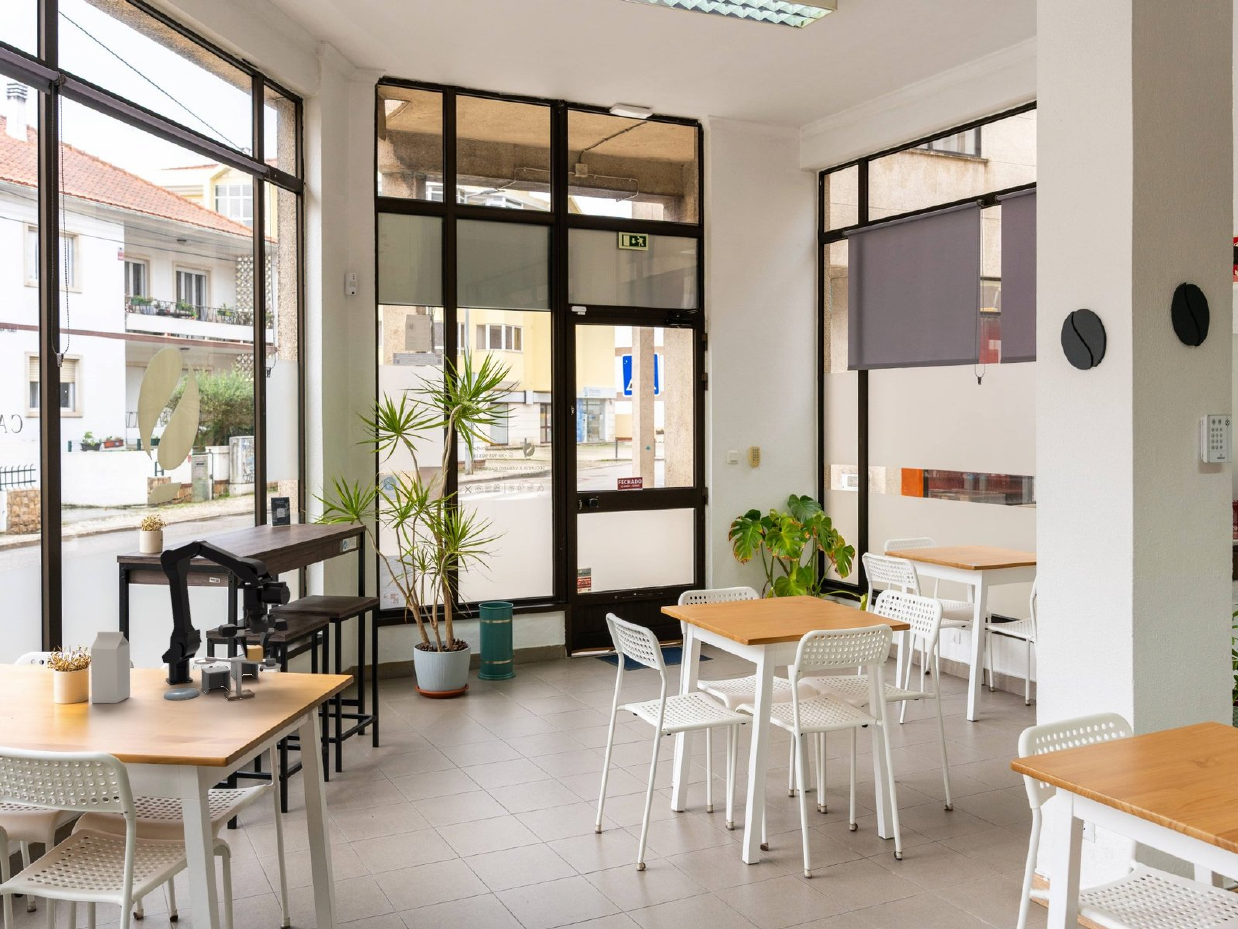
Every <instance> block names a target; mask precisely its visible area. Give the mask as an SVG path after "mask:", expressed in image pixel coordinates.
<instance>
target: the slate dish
mask: <svg viewBox="0 0 1238 929" xmlns="http://www.w3.org/2000/svg"><path fill="white" fill-rule="evenodd" d="M197 695H198V696H199V695H200V690H199V689H198V688H194V687H192V688H191V687H184V688H183V687H182V688H181V687H180V688H175V689H170V690H167V691H165V692H164V693H163V698H164V699H165V700H168V699H169V701H179V700H178V699H180V701H183V700H187V699H186V698H189V699H193V698H196V697H198V696H197ZM195 696H196V697H195ZM182 699H183V700H182Z"/></svg>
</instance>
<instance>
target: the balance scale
mask: <svg viewBox="0 0 1238 929" xmlns="http://www.w3.org/2000/svg"><path fill="white" fill-rule="evenodd" d="M276 661H277V659H276V658H275V657H270V658H266V659H265V661H264V660H263V661H251V660H238V659H231V658H223V657H213V656H212V657H211V656H205V657H204V658H198V659H196V660H194V665H210V664H215V663H217V662H225V663H231V662H234V663H236V681H235V690H233V691H232V690H231V691H224V692H222V695H223V696H222V697H223V698H224V699H226V698H227V699H228V700H227V699H226V700H227V701H228V702H229V701H230V700H231V701H236V700H235V699H238V700H241V699H240V698H245V699H250V698H256V697H255V696H256V695H255V692H253V691H252V690H251V689H250V688H245V689H242V682H243V680H242V678H243V676H242V672H241V663H247V664H258V665H260V666H259V667H260V669H261V670H277V669H280V668H281V666H282V664H281V663H277V662H276ZM231 701H230V702H231Z"/></svg>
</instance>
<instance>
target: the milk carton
mask: <svg viewBox="0 0 1238 929" xmlns="http://www.w3.org/2000/svg"><path fill="white" fill-rule="evenodd" d="M96 632H97V635H96V638H95V640H94V642H93V644H92V645H91V648H90V669H91V670H90V672H91V673H90V674H91V676H90V677H91V678H90V680H91V684H90V685H91V686H90V687H91V688H90V689H91V690H90V691H91V703H92V704H118V703H120V702H122V701H124V700H126V699H128V698H130V697H131V660H130V659H131V655H130V654H131V653H130V652H131V650H130V647H131V646H130V642H129V641H128V640H127V638H126V637H125V636H124V631H96Z"/></svg>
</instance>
